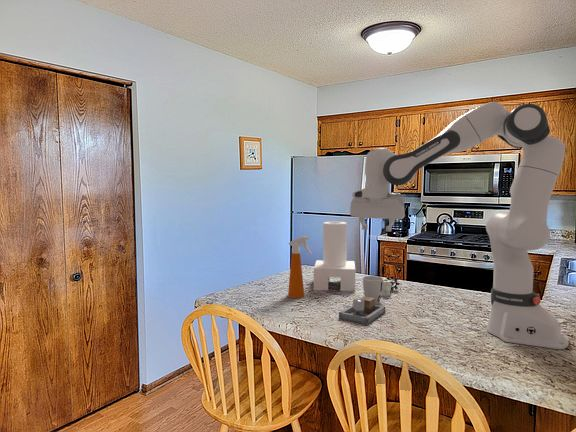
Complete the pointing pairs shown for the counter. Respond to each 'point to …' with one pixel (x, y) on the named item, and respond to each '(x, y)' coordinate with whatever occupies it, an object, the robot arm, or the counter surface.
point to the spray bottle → (297, 268)
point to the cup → (373, 287)
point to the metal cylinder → (358, 307)
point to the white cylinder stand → (334, 258)
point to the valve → (389, 285)
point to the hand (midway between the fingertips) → (376, 230)
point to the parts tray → (367, 318)
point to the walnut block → (368, 304)
